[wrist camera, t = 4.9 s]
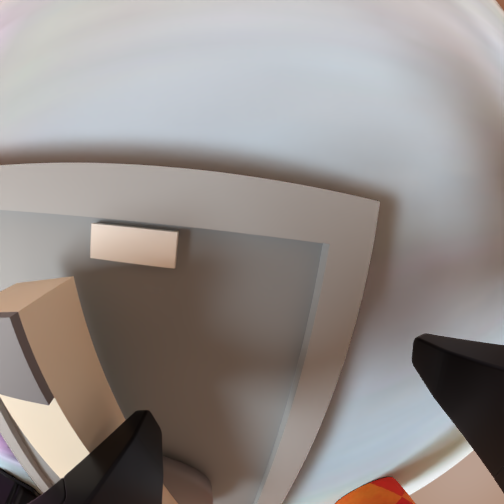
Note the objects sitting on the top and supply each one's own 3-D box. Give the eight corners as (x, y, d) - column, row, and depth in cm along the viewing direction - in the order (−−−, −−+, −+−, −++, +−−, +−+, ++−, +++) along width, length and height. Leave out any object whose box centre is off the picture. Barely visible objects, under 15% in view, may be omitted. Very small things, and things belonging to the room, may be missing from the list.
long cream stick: (221, 504, 10) (227, 556, 6) (123, 500, 9) (115, 546, 6) (141, 261, 7) (82, 315, 3) (1, 279, 7) (-68, 315, 3)
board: (261, 515, 13) (265, 534, 11) (48, 478, 10) (41, 494, 8) (354, 200, 9) (385, 201, 7) (-31, 171, 7) (-58, 171, 5)
